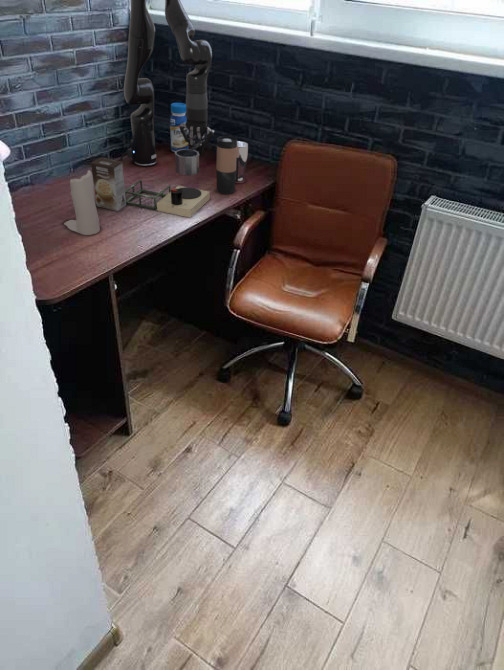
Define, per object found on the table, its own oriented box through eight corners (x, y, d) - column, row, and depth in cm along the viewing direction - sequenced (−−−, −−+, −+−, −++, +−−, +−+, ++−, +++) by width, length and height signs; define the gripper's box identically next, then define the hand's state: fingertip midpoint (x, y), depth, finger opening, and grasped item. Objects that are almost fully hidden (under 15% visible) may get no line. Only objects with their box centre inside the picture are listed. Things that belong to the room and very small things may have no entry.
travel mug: (238, 189, 199) (240, 138, 187) (229, 195, 193) (231, 143, 181) (221, 185, 201) (222, 134, 189) (212, 191, 196) (213, 139, 183)
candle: (74, 217, 171) (64, 159, 158) (104, 229, 166) (96, 170, 153) (58, 225, 166) (46, 166, 154) (88, 237, 161) (79, 176, 148)
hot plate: (188, 218, 176) (188, 210, 174) (155, 211, 178) (155, 203, 176) (209, 199, 190) (209, 191, 188) (178, 192, 193) (178, 184, 191)
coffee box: (95, 206, 179) (89, 162, 169) (105, 200, 184) (99, 156, 174) (118, 211, 177) (113, 167, 167) (127, 204, 182) (123, 161, 172)
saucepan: (171, 172, 178) (170, 154, 174) (190, 158, 190) (190, 141, 186) (193, 176, 176) (192, 158, 172) (210, 162, 188) (210, 145, 184)
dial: (184, 201, 179) (183, 189, 176) (179, 206, 176) (179, 193, 173) (174, 199, 180) (173, 187, 177) (169, 204, 177) (168, 191, 174)
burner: (169, 196, 183) (169, 194, 182) (181, 186, 190) (181, 185, 190) (194, 201, 181) (194, 200, 180) (205, 191, 188) (205, 190, 188)
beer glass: (247, 178, 209) (249, 141, 199) (245, 184, 203) (247, 147, 194) (231, 176, 209) (232, 140, 200) (228, 182, 204) (230, 145, 194)
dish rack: (124, 203, 182) (123, 191, 179) (141, 191, 192) (140, 179, 189) (155, 210, 180) (155, 197, 176) (171, 197, 189) (171, 185, 186)
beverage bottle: (185, 146, 235) (184, 101, 223) (191, 152, 229) (190, 106, 217) (168, 148, 232) (166, 102, 220) (174, 154, 226) (172, 107, 214)
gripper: (174, 105, 173) (176, 155, 184) (210, 111, 170) (210, 161, 181) (183, 100, 179) (184, 149, 189) (219, 106, 176) (218, 155, 186)
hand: (197, 155), depth 185 cm, fingers closed on saucepan
